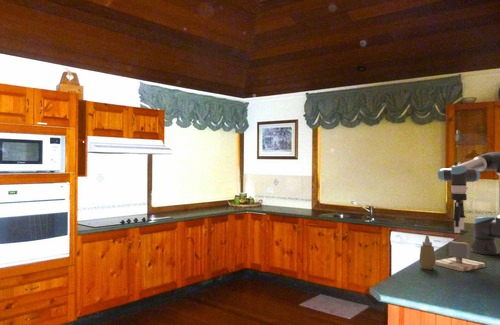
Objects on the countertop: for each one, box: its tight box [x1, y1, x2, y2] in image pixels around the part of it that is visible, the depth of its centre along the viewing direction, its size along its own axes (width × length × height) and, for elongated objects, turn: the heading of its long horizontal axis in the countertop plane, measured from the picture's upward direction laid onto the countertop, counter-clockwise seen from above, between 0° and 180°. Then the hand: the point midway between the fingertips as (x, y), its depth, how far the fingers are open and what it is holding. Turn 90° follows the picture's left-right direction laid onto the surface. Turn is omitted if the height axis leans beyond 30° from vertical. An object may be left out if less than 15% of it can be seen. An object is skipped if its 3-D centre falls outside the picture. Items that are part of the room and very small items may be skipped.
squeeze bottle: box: [418, 234, 436, 271], centre depth 215 cm, size 8×8×18 cm
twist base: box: [434, 257, 486, 272], centre depth 221 cm, size 20×17×4 cm
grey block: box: [448, 240, 471, 260], centre depth 221 cm, size 10×4×8 cm, turn 34°
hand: (459, 230), depth 221 cm, fingers open, 13 cm apart
